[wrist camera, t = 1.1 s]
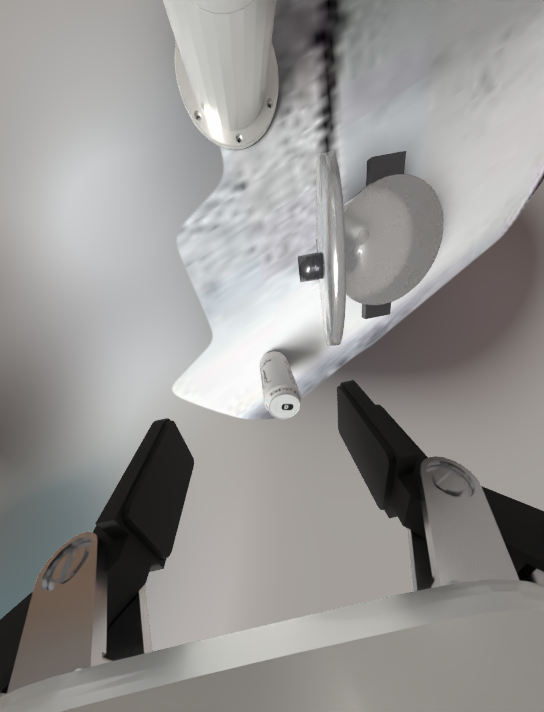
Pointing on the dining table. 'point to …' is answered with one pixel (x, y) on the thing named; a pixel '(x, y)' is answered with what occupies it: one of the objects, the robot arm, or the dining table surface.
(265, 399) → the energy drink can
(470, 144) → the dining table surface
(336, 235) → the lid
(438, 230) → the pot
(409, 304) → the dining table surface
